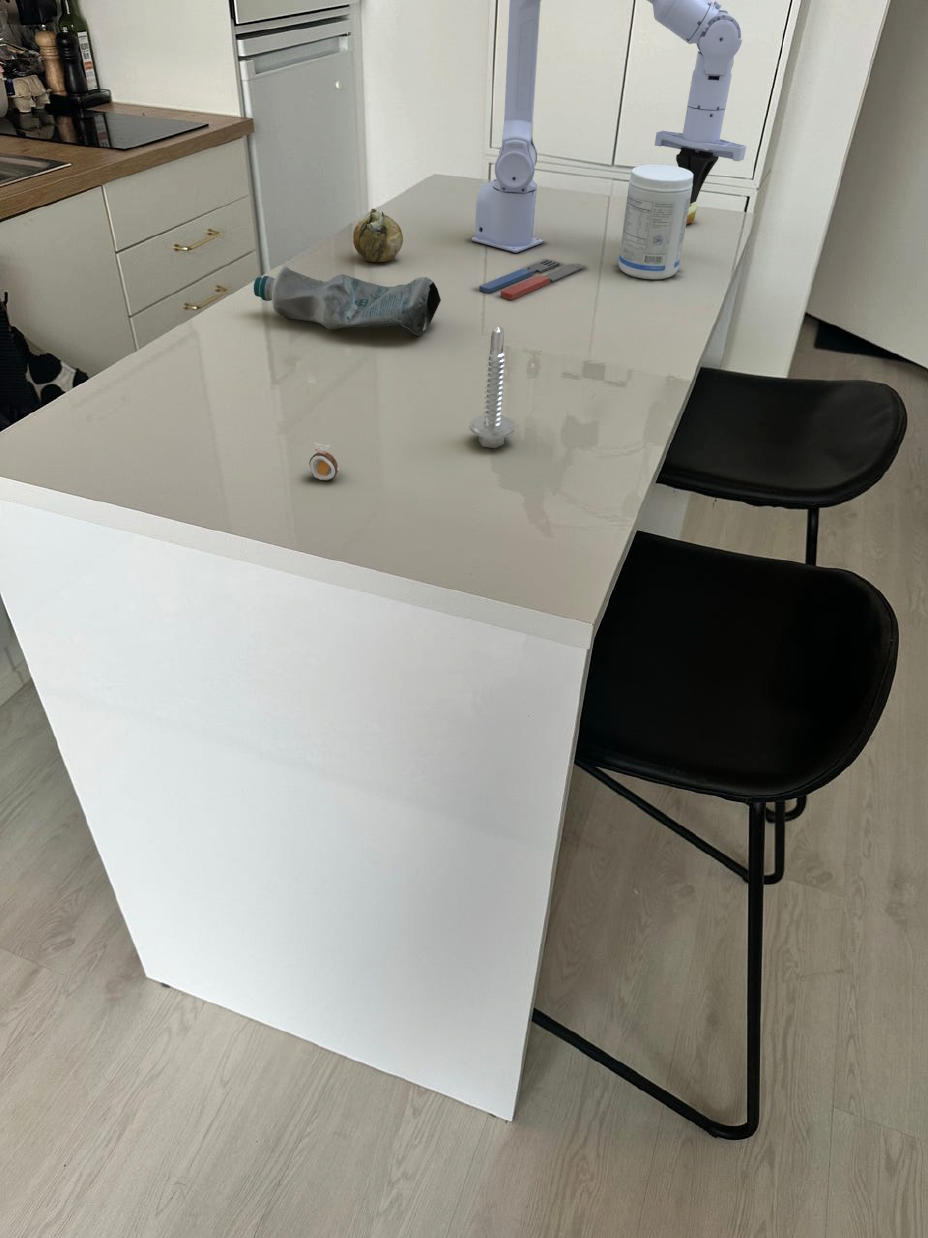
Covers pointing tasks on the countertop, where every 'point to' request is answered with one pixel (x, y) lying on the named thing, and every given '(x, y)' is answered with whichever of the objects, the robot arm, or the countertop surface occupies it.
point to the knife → (538, 282)
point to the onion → (377, 237)
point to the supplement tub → (655, 220)
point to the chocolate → (323, 464)
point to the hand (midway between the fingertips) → (689, 201)
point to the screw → (493, 398)
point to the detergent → (350, 301)
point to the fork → (517, 276)
